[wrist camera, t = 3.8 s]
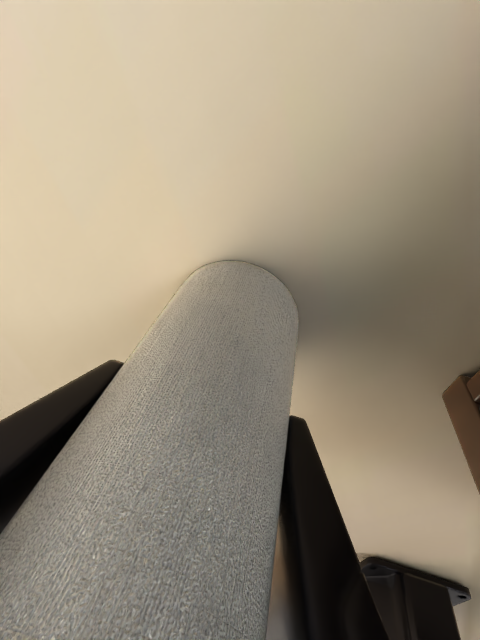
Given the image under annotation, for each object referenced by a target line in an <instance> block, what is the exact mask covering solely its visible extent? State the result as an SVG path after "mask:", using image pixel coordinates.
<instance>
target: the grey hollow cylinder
mask: <svg viewBox="0 0 480 640" xmlns="http://www.w3.org/2000/svg"><path fill="white" fill-rule="evenodd" d="M297 338H298V311H297V307H296V303H295V301H294V299H293V297H292V295H291V293H290V292H289V290H288V289H287V288H286V286H285V285H284V284H283V283H282V282H281V281H280V280H279V279H278V278H277V277H275V276H274V275H273V274H271V273H270V272H268V271H266V270H265V269H263V268H260V267H258V266H256V265H253V264H250V263H246V262H241V261H219V262H214V263H210V264H207V265H205V266H203V267H201V268H199V269H197V270H196V271H195V272H193V273H192V274H191V275H190V276H189V277H188V278H187V279H186V280H185V282H184V283H183V284H182V285H181V286H180V287H179V289H178V290H177V292H176V293H175V294H174V296H173V297H172V298H171V300H170V301H169V303H168V304H167V305H166V307H165V308H164V310H163V311H162V312H161V314H160V315H159V316H158V318H157V319H156V321H155V322H154V323H153V325H152V326H151V327H150V329H149V330H148V332H147V333H146V334H145V336H144V337H143V338H142V340H141V341H140V343H139V344H138V345H137V347H136V348H135V349H134V351H133V352H132V354H131V355H130V356H129V358H128V359H127V360H126V362H125V363H124V365H123V366H122V367H121V369H120V370H119V371H118V373H117V374H116V376H115V377H114V378H113V380H112V381H111V383H110V384H109V385H108V387H107V388H106V389H105V391H104V392H103V394H102V395H101V396H100V398H99V399H98V400H97V402H96V403H95V405H94V406H93V407H92V409H91V410H90V411H89V413H88V414H87V416H86V417H85V418H84V420H83V421H82V422H81V424H80V425H79V427H78V428H77V429H76V431H75V432H74V433H73V435H72V436H71V438H70V439H69V440H68V442H67V443H66V444H65V446H64V447H63V449H62V450H61V451H60V453H59V454H58V456H57V457H56V458H55V460H54V461H53V462H52V464H51V465H50V467H49V468H48V469H47V471H46V472H45V473H44V475H43V476H42V478H41V479H40V480H39V482H38V483H37V484H36V486H35V487H34V489H33V490H32V491H31V493H30V494H29V495H28V497H27V498H26V500H25V501H24V502H23V504H22V505H21V506H20V508H19V509H18V511H17V512H16V513H15V515H14V516H13V517H12V519H11V520H10V522H9V523H8V524H7V526H6V527H5V528H4V530H3V531H2V533H1V534H0V640H266V632H267V623H268V613H269V604H270V594H271V585H272V575H273V566H274V556H275V547H276V537H277V528H278V518H279V509H280V499H281V490H282V480H283V471H284V461H285V452H286V443H287V433H288V424H289V414H290V405H291V395H292V386H293V376H294V367H295V357H296V348H297Z"/></svg>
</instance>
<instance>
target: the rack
mask: <svg viewBox="0 0 480 640" xmlns="http://www.w3.org/2000/svg"><path fill="white" fill-rule="evenodd" d="M442 398H443V400H444V403H445V405H446V408H447V411H448V413H449V416H450V418H451V421H452V424H453V426H454V429H455V431H456V434H457V437H458V439H459V442H460V444H461V447H462V450H463V452H464V455H465V457H466V460H467V463H468V465H469V468H470V470H471V473H472V476H473V478H474V481H475V483H476V486H477V489H478V491H479V494H480V370H479V371H478V372H477V373H476V374H475V375H474V376H473V377H472V378H470V377H467V376H463V375H460V376H459V377H458V378H457V379H456V380H455V381H454V382H453V383H452V384H451V386H450V387H449V388H448V389H447V390H446V391H445V392H444V393H443V394H442Z"/></svg>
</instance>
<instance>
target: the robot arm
mask: <svg viewBox="0 0 480 640" xmlns="http://www.w3.org/2000/svg"><path fill="white" fill-rule="evenodd" d="M123 365H124V363H123V362H120V361H116V360H109V361H107V362H106V363H104V364H102V365H100V366H98V367H97V368H95V369H93V370H91V371H89V372H88V373H86V374H84V375H82V376H80V377H79V378H77V379H75V380H73V381H71V382H70V383H68V384H66V385H64V386H62V387H61V388H59V389H57V390H55V391H53V392H52V393H50V394H48V395H46V396H44V397H43V398H41V399H39V400H37V401H35V402H34V403H32V404H30V405H28V406H26V407H25V408H23V409H21V410H19V411H17V412H16V413H14V414H12V415H10V416H8V417H7V418H5V419H3V420H1V421H0V534H1V533H2V531H3V530H4V528H5V527H6V526H7V524H8V523H9V522H10V520H11V519H12V517H13V516H14V515H15V513H16V512H17V511H18V509H19V508H20V506H21V505H22V504H23V502H24V501H25V500H26V498H27V497H28V495H29V494H30V493H31V491H32V490H33V489H34V487H35V486H36V484H37V483H38V482H39V480H40V479H41V478H42V476H43V475H44V473H45V472H46V471H47V469H48V468H49V467H50V465H51V464H52V462H53V461H54V460H55V458H56V457H57V456H58V454H59V453H60V451H61V450H62V449H63V447H64V446H65V444H66V443H67V442H68V440H69V439H70V438H71V436H72V435H73V433H74V432H75V431H76V429H77V428H78V427H79V425H80V424H81V422H82V421H83V420H84V418H85V417H86V416H87V414H88V413H89V411H90V410H91V409H92V407H93V406H94V405H95V403H96V402H97V400H98V399H99V398H100V396H101V395H102V394H103V392H104V391H105V389H106V388H107V387H108V385H109V384H110V383H111V381H112V380H113V378H114V377H115V376H116V374H117V373H118V371H119V370H120V369H121V367H122V366H123ZM470 599H471V595H470V592H469V589H468V588H466V587H464V586H461V585H458V584H455V583H452V582H449V581H446V580H443V579H440V578H436V577H433V576H430V575H427V574H424V573H421V572H418V571H415V570H412V569H409V568H406V567H403V566H400V565H397V564H394V563H391V562H388V561H384V560H381V559H378V558H374V557H368V558H366V559H365V560H363V561H362V562H361V563H359V560H358V558H357V555H356V552H355V550H354V547H353V544H352V542H351V539H350V536H349V534H348V531H347V529H346V526H345V523H344V521H343V518H342V515H341V513H340V510H339V507H338V505H337V502H336V500H335V497H334V494H333V492H332V489H331V486H330V484H329V481H328V478H327V476H326V473H325V471H324V468H323V465H322V463H321V460H320V457H319V455H318V452H317V450H316V447H315V444H314V442H313V439H312V436H311V434H310V431H309V428H308V426H307V423H306V421H305V420H304V419H302V418H299V417H296V416H293V415H290V416H289V424H288V433H287V443H286V452H285V461H284V471H283V480H282V490H281V499H280V509H279V518H278V528H277V537H276V547H275V556H274V566H273V575H272V585H271V594H270V604H269V613H268V623H267V632H266V640H461V638H460V634H459V630H458V626H457V622H456V618H455V614H454V610H453V606H455V605H457V604H460V603H462V602H465V601H467V600H470Z"/></svg>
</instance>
